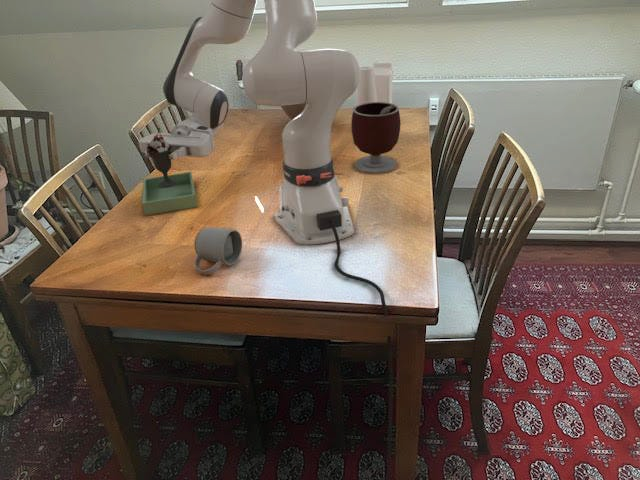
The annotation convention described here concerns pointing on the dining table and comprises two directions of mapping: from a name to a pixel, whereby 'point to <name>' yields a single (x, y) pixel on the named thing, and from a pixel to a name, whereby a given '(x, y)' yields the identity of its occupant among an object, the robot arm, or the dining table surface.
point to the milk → (383, 82)
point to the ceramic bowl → (293, 110)
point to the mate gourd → (375, 135)
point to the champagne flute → (366, 86)
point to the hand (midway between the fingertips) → (159, 155)
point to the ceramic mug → (217, 247)
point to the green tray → (168, 194)
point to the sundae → (161, 159)
